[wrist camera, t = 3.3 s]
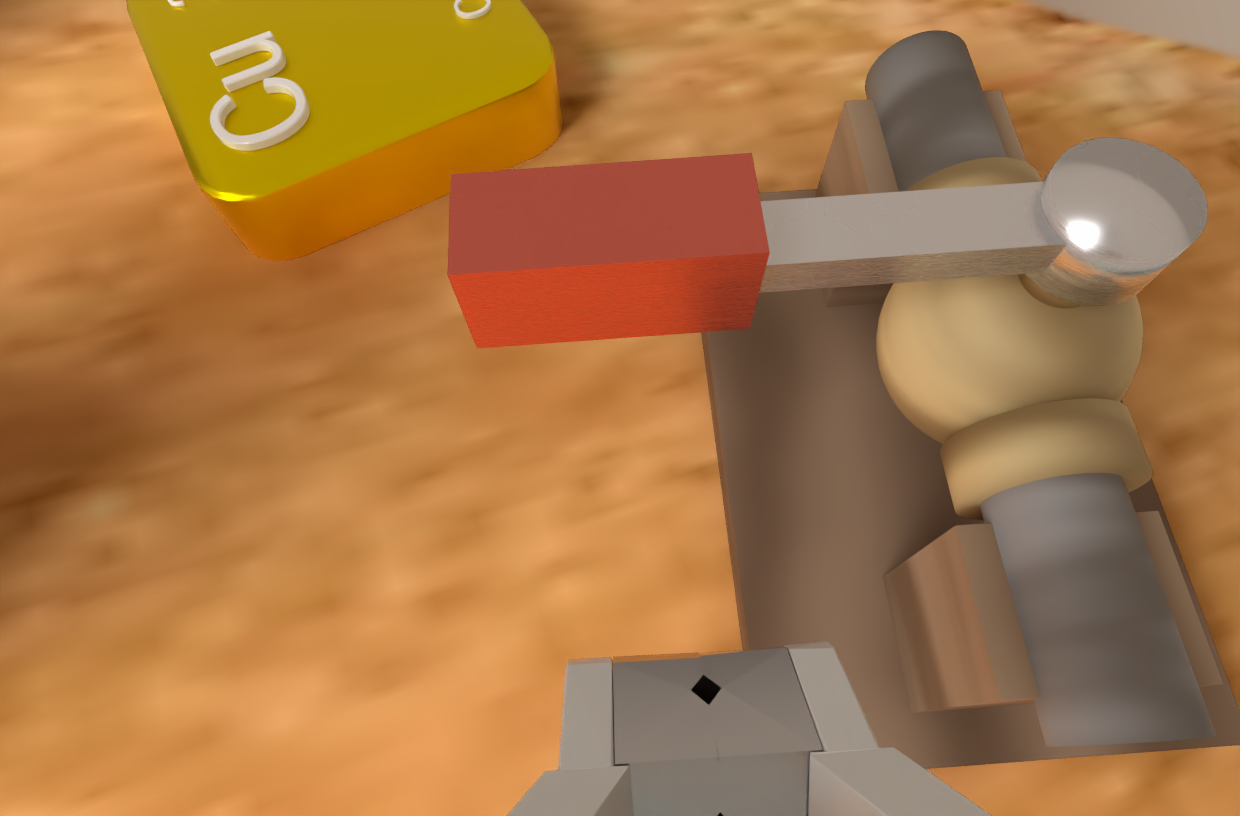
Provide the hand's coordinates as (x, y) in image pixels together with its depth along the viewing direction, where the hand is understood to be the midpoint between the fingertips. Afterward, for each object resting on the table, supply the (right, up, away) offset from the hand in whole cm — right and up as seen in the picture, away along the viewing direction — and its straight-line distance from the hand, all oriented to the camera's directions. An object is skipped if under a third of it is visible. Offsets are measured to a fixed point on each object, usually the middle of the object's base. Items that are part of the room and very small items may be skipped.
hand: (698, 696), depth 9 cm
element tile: (-13, +18, +27) cm, 35 cm away
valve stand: (+10, +2, +19) cm, 21 cm away
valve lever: (+3, +6, +8) cm, 11 cm away
